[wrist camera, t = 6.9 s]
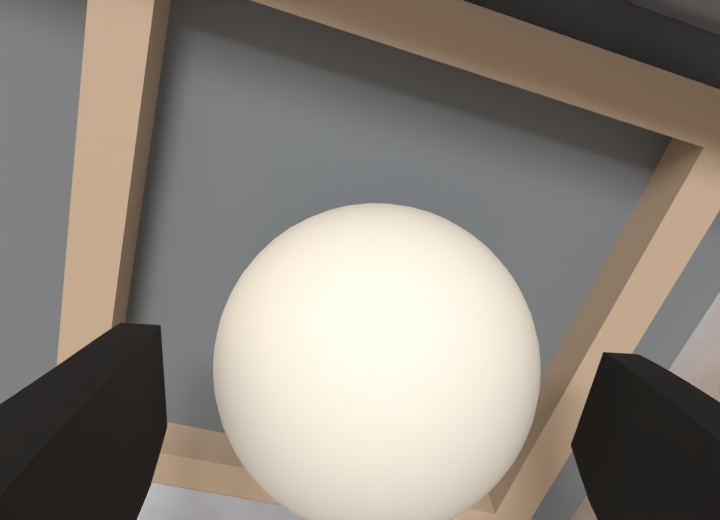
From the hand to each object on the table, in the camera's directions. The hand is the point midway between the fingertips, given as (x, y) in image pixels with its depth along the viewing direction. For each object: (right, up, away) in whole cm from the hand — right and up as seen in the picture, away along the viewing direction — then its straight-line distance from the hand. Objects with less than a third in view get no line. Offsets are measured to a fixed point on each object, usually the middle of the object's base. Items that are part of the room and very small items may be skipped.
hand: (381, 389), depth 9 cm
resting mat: (0, +2, +4) cm, 4 cm away
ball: (0, 0, +1) cm, 1 cm away
